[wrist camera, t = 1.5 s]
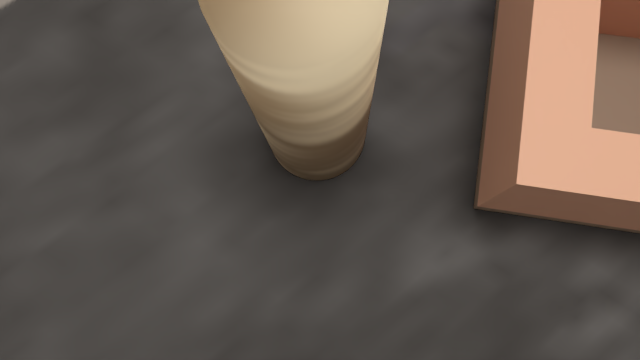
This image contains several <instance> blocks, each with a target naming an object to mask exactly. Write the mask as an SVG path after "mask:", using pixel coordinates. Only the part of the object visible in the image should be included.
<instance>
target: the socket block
mask: <svg viewBox="0 0 640 360" xmlns="http://www.w3.org/2000/svg"><path fill="white" fill-rule="evenodd" d="M474 209H480V210H487V211H494V212H500V213H507V214H514V215H520V216H527V217H534V218H540V219H547V220H554V221H560V222H567V223H574V224H580V225H587V226H594V227H600V228H607V229H613V230H620V231H627V232H633V233H640V0H496V8H495V17H494V26H493V35H492V45H491V54H490V63H489V72H488V81H487V90H486V99H485V108H484V117H483V127H482V136H481V145H480V154H479V163H478V172H477V181H476V190H475V200H474Z"/></svg>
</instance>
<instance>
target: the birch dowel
mask: <svg viewBox="0 0 640 360" xmlns="http://www.w3.org/2000/svg"><path fill="white" fill-rule="evenodd" d="M198 1H199V4H200V7H201V10H202V13H203V15H204V17H205V19H206V21H207V23H208V25H209V27H210V29H211V31H212V33H213V35H214V37H215V39H216V41H217V43H218V45H219V47H220V49H221V51H222V53H223V54H224V56H225V58H226V60H227V62H228V64H229V66H230V68H231V70H232V72H233V74H234V76H235V78H236V80H237V82H238V84H239V86H240V88H241V90H242V92H243V94H244V96H245V98H246V100H247V102H248V104H249V106H250V108H251V110H252V112H253V114H254V116H255V118H256V120H257V122H258V124H259V126H260V128H261V130H262V132H263V133H264V135H265V137H266V139H267V141H268V143H269V145H270V147H271V149H272V151H273V153H274V155H275V157H276V159H277V160H278V162H279V163H280V164H281V165H282V166H283V167H284V168H285V169H286V170H287V171H289V172H290V173H292V174H293V175H295V176H298V177H300V178H303V179H307V180H326V179H331V178H334V177H336V176H338V175H340V174H342V173H344V172H345V171H347V170H348V169H349V168H350V167H351V166H352V165H353V164H354V163H355V162H356V160H357V159H358V157H359V156H360V154H361V152H362V149H363V146H364V142H365V136H366V130H367V125H368V119H369V113H370V107H371V101H372V96H373V90H374V84H375V78H376V72H377V66H378V61H379V55H380V49H381V43H382V37H383V31H384V26H385V20H386V14H387V8H388V2H389V0H198Z"/></svg>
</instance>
